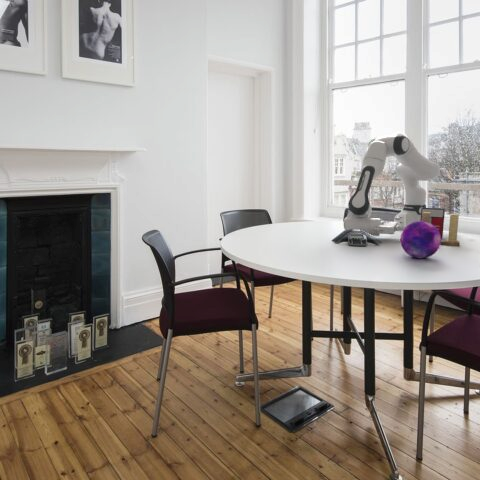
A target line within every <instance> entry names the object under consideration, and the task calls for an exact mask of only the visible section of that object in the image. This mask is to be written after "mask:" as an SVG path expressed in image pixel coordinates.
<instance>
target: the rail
mask: <svg viewBox="0 0 480 480" xmlns="http://www.w3.org/2000/svg"><path fill="white" fill-rule="evenodd" d="M400 239H401V237H400V238H399V243H401V241H400ZM440 246H451V247H460V240H458V243H454V242H446V240H441V244H440Z"/></svg>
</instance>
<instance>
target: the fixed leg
mask: <svg viewBox="0 0 480 480" xmlns="http://www.w3.org/2000/svg"><path fill="white" fill-rule="evenodd" d="M459 217H460V215H459V214H458V213H450V215H449V224H448V225H449V227H448V237H447V238H448V239H446V242H454V243H458V241H459V238H458V229H459V228H458V227H459V219H460V218H459ZM457 238H458V239H457Z"/></svg>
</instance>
